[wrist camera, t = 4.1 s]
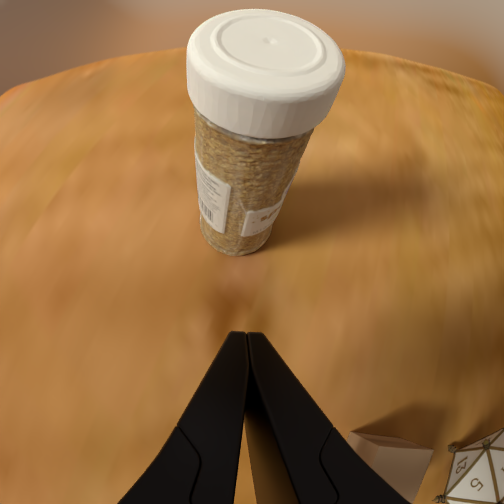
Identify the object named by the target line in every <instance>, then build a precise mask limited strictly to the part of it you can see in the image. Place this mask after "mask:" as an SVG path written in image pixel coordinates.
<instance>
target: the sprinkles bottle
mask: <svg viewBox="0 0 504 504" xmlns="http://www.w3.org/2000/svg"><path fill="white" fill-rule="evenodd" d="M344 75H345V60H344V57H343V54H342V52H341V50H340V48H339V47H338V46H337V44H336V43H335V41H334V40H333V39H332V38H331V37H330V36H329V35H328V34H326V33H325V32H324V31H323V30H321V29H320V28H318V27H317V26H315V25H314V24H312V23H310V22H308V21H306V20H304V19H301V18H299V17H296V16H294V15H291V14H287V13H283V12H279V11H272V10H264V9H243V10H235V11H230V12H226V13H223V14H220V15H217V16H214V17H212V18H210V19H209V20H207V21H205V22H204V23H202V24H201V25H200V26H199V27H198V28H197V29H196V30H195V31H194V33H193V34H192V35H191V38H190V39H189V42H188V46H187V88H188V93H189V96H190V98H191V101H192V103H193V107H194V116H195V133H196V135H195V142H194V148H195V162H196V176H197V189H198V201H199V208H200V211H201V213H200V228H201V232H202V234H203V236H204V238H205V239H206V241H207V242H208V243H209V244H210V245H211V246H212V247H213V248H215V249H216V250H217V251H219V252H222V253H224V254H227V255H230V256H241V255H246V254H248V253H251V252H254V251H256V250H257V249H259V248H260V247H261V246H262V245H263V244H264V243H265V242H266V241H267V239H268V237H269V236H270V234H271V229H272V225H273V222H274V220H275V219H276V217H277V215H278V213H279V211H280V208H281V206H282V204H283V201H284V199H285V196H286V194H287V192H288V190H289V187H290V185H291V183H292V181H293V179H294V176H295V174H296V172H297V169H298V167H299V164H300V159H301V157H302V155H303V153H304V151H305V148H306V146H307V144H308V141H309V139H310V136H311V134H312V133H313V130H314V128H315V127H316V126H317V125H318V124H320V123H321V122H322V120H323V119H324V118H325V117H326V116H327V114H328V112H329V111H330V108H331V106H332V104H333V102H334V100H335V98H336V95H337V93H338V91H339V88H340V86H341V83H342V81H343V78H344Z"/></svg>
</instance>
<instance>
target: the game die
mask: <svg viewBox="0 0 504 504" xmlns="http://www.w3.org/2000/svg"><path fill="white" fill-rule="evenodd" d="M448 448H449V451H450V452H452V453H454V457H453V461H452V465H451V469H450V473H449V477H448V481H447V485H446V488H445V492H444V495H440V496H436V498H435V499H434V500H433V501H434V502H437V503H439V502H442V503H445V502H446V503H447V504H504V428H502V429H500V430H498V431H496V432H495V433H493V434H491V435H489V436H487V437H484V438H482V439H480V440H478V441H476V442H474V443H472V444H470V445H467V446H465V447H463V448H461V449H458V450H456V447H454V445H453V446H451V445H448Z"/></svg>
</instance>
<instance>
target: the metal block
mask: <svg viewBox="0 0 504 504" xmlns="http://www.w3.org/2000/svg"><path fill="white" fill-rule="evenodd" d="M347 443H348V444H349V445H350V446H351V447H352V448H353V450H354V451H355V452H356V453H357V454H358V455H359V456H360V457H361V458H362V459H363V460H364V461H365V462H366V463H367V464H368V465H369V466H370V467H371V468H372V469H373V470H374V471H375V472H376V473H377V474H378V475H379V476H381V477H382V478H383V479H384V480H385V481H386V482H387V483H388V484H389V485H390V486H391V487H393V488H394V489H395V490H396V491H397V492H398V493H399V494H400V495H401V496H403V497H404V498H405V499H406V500H407V501H409V502H410V503H411V504H412V503H413V501H414V499H415V497H416V494H417V492H418V490H419V487H420V485H421V483H422V480H423V478H424V475H425V473H426V470H427V467H428V465H429V462H430V459H431V456H432V454H433V451H434V450H433V449H430V448H427V447H424V446H421V445H418V444H415V443H413V442H410V441H407V440H405V439H402V438H397V437H388V436H379V435H371V434H364V433H357V432H351V431H350V433H349V436H348V439H347Z"/></svg>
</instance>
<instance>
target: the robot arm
mask: <svg viewBox="0 0 504 504" xmlns="http://www.w3.org/2000/svg"><path fill="white" fill-rule="evenodd" d="M243 423H245V430H246V437H247V443H248V450H249V457H250V463H251V470H252V476H253V482H254V489H255V495H256V501H257V504H411V503H410V502H409V501H407V500H406V499H405V498H404V497H403V496H401V495H400V494H399V493H398V492H397V491H396V490H395V489H394V488H393V487H391V486H390V485H389V484H388V483H387V482H386V481H385V480H384V479H383V478H382V477H381V476H379V475H378V474H377V473H376V472H375V471H374V470H373V469H372V468H371V467H370V466H369V465H368V464H367V463H366V462H365V461H364V460H363V459H362V458H361V457H360V456H359V455H358V454H357V453H356V452H355V451H354V450H353V448H352V447H351V446H350V445H349V444H348V443H347V441H346V440H345V439H344V438H343V437H342V435H341V434H340V433H339V432H338V430H337V429H336V428H335V427H333V424H332V423H331V422H330V420H329V419H328V418H327V416H326V415H325V414H324V413H323V411H322V410H321V409H320V408H319V406H318V405H317V404H316V402H315V401H314V400H313V399H312V397H311V396H310V395H309V393H308V392H307V391H306V389H305V388H304V387H303V386H302V384H301V383H300V382H299V380H298V379H297V378H296V376H295V375H294V374H293V372H292V371H291V370H290V368H289V367H288V366H287V364H286V363H285V362H284V360H283V359H282V358H281V356H280V355H279V354H278V352H277V351H276V350H275V348H274V347H273V346H272V344H271V343H270V342H269V340H268V339H267V338H266V336H265V335H264V334H263V333H261V332H248V333H247V334H246V333H245V332H241V331H231V332H229V334H228V335H227V337H226V339H225V341H224V343H223V344H222V346H221V348H220V350H219V351H218V353H217V355H216V357H215V358H214V360H213V362H212V364H211V365H210V367H209V369H208V371H207V372H206V374H205V376H204V378H203V379H202V381H201V383H200V385H199V386H198V388H197V390H196V392H195V393H194V395H193V397H192V399H191V400H190V402H189V404H188V406H187V407H186V409H185V411H184V412H183V414H182V416H181V418H180V419H179V421H178V423H177V426H176V427H175V428H174V429H173V431H172V433H171V434H170V436H169V438H168V439H167V441H166V442H165V444H164V446H163V447H162V449H161V450H160V452H159V453H158V455H157V456H156V458H155V459H154V460H153V461H152V463H151V464H150V465H149V467H148V468H147V469H146V471H145V472H144V473H143V474H142V475H141V477H140V478H139V479H138V480H137V481H136V483H135V484H134V485H133V486H132V487H131V488H130V490H129V491H128V492H127V493H126V494H125V495H124V496H123V498H122V499H121V500H120V501H119V502H118V503H117V504H234V496H235V488H236V480H237V472H238V464H239V456H240V448H241V440H242V432H243Z"/></svg>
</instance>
